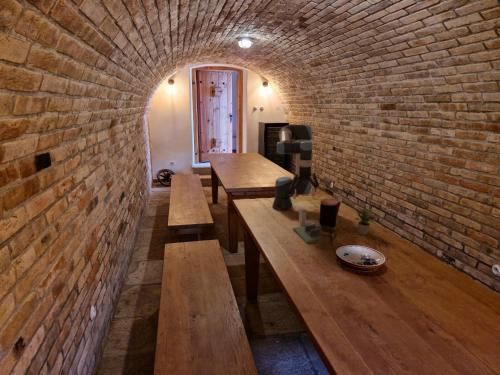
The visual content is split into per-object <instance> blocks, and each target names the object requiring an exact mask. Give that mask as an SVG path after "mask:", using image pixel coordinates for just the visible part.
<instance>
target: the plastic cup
mask: <svg viewBox="0 0 500 375" xmlns="http://www.w3.org/2000/svg"><path fill="white" fill-rule="evenodd" d="M328 199H333V200H336V201H337V202H338V204H337V216H338V214H339V211H340V207H341V203H342V201H343V200H342V199H341V198H337V197H330V198H328Z"/></svg>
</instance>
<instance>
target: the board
mask: <svg viewBox="0 0 500 375" xmlns="http://www.w3.org/2000/svg"><path fill="white" fill-rule="evenodd" d="M320 229H321V225H320V224H319V222H317V221H311V222H306V225H303V226H299V227H298V226H297V227H293V228H292V231H293V232H294V233H295V234H296V235H297V236H298V237H299V238H300V239H302V241H303V242H305V243H306V245H308V244H315V243H318V240H319V235H320Z"/></svg>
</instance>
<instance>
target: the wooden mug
mask: <svg viewBox="0 0 500 375" xmlns="http://www.w3.org/2000/svg"><path fill="white" fill-rule="evenodd" d="M342 223H343V221H342V220H341V221H339V222H337V223H336V225H335V226H334V227H333V228H331V227H328V226H322V227H321V229H320V235H319V240H318V242H316V243H317V244H316V247H317V248H319V249H320V250H332V249H333V248H334V241H335V240H336V239H337V237H338V230H337V228H339V227H340V226H341V225H342Z"/></svg>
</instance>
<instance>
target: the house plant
mask: <svg viewBox="0 0 500 375" xmlns="http://www.w3.org/2000/svg"><path fill="white" fill-rule="evenodd" d="M366 209H367V207H364V211H363V209H360V210H359V209H358V210H355V211H354V212H355V213H357V216H358V217H355V218H354V220H355V221H358V222H357V227H358V228H357V230H358V233H359V234H360V235H367V234H368V233H369V229H370V226H371V223H370V222H372V223H375V222H376V220H375V219H377V217H376V216H373V215H374V214H375V213H376V211H374V212H372V213H370V212H371V211H372V210H371V208H368V209H367V210H366ZM360 212H361V213H360ZM369 213H370V214H369Z"/></svg>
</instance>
